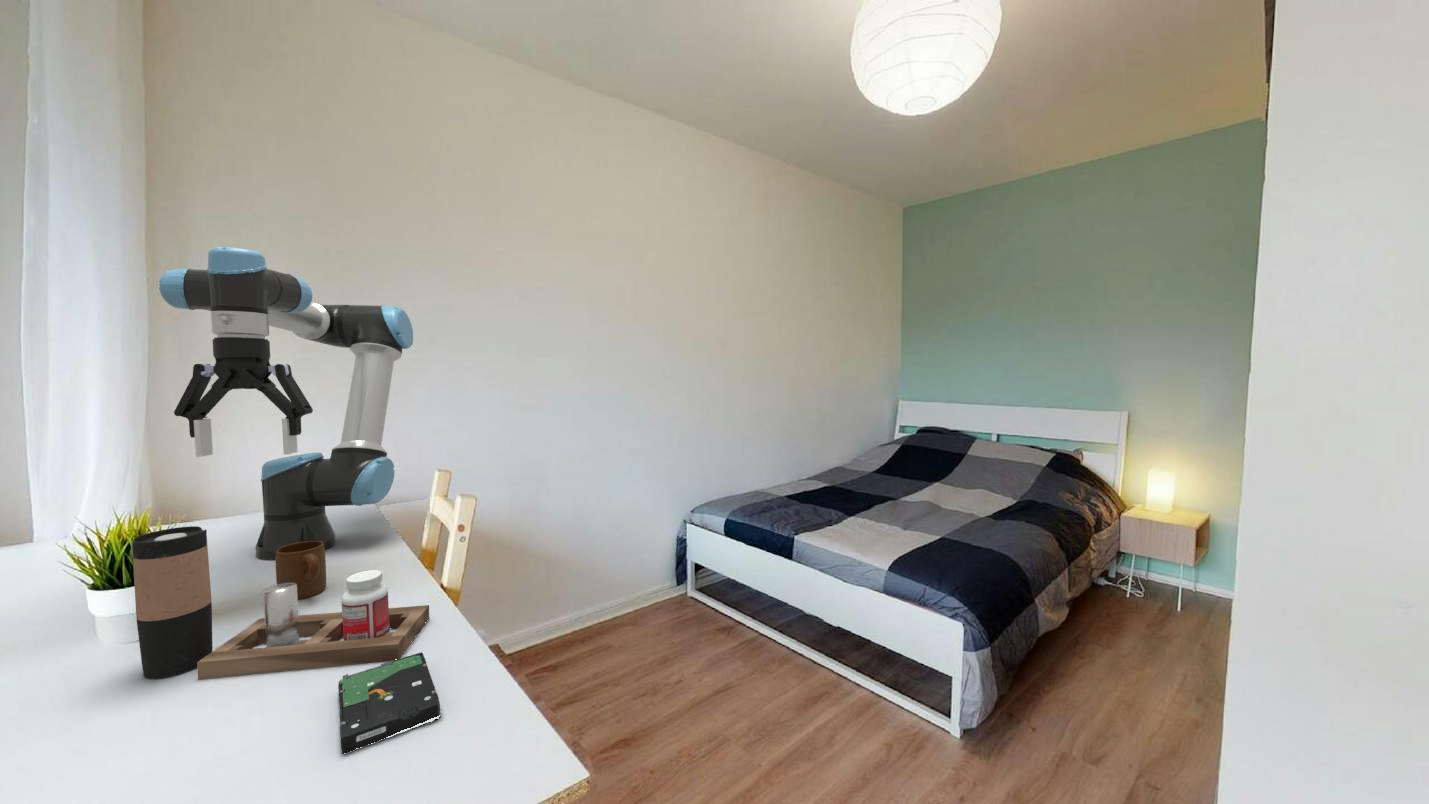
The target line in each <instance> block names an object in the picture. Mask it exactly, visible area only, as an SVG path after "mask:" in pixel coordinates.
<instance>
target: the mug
mask: <svg viewBox="0 0 1429 804" xmlns="http://www.w3.org/2000/svg"><path fill="white" fill-rule="evenodd" d="M274 560H275V563H274V564H275V579H276V585H278V584H282V583H296V584H297V598H298V600H303V599H306V598H310V597H313V596H316V595H318V594H321V592H323V591H325V588H326V586H327V565H326V561H327V560H326V549H325V548H324V543H323V542H322V541H304V542H297V543H293V544H289V545H286V546H283V547H280V548H279V549H277V550H276V559H274Z"/></svg>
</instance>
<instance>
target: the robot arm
mask: <svg viewBox="0 0 1429 804" xmlns="http://www.w3.org/2000/svg"><path fill="white" fill-rule="evenodd" d="M207 256H208V257H207V258H208V259H207V269H192V268H183V269H181V268H180V269H169V270H168V271H165V272H164V273H163V274H161V276H160V279H159V282H158V283H159V284H158V285H159V287H158V289H159V294H160V296H161V297H162V299H163V300H164V301H165V302H166V303H167V304H168V305H169V306H171V307H173V308H176V309H182V310H184V309H185V310H191V311H194V310H201V311H202V310H203V311H209V312H210V317H211V318H210V319H211V330H212V331H211V333H212V334H213V335H216V337H213V339H212V353H213V354H212V355H213V358H214V360H215V364H214V365H212V364H210V363H195V364H194V365H193V367H192V377H191V379H190V381H189V382H188V384H187V386H186V388H185V390H184V392H183V394H182V396H181V398H180V400H179V401H178V403H177V405H176V406H175V407H176V408H175V409H174V411H173V415H174V416H175V417H182V418H185V419H186V420H188V427H189V428H188V429H189V436H190V438H194V446H195V447H194V449H195V457H196V458H198V457H199V458H200V457H201V458H202V457H206V456H211V455H214V454H213V453H214V452H213V451H214V450H213V437H212V434H213V433H212V420H211V418H208V416H207V415H208V414H209V413H210V412H211V411H212V409H213V408H214V407H216V405H217V404H218V403H219V402H220V401H221V400H222V399H223V398H224V397H225V395H227V394H228V393H229V391H232V390H242V389H244V390H255V389H256V390H257V391H258V392H261V393H262V394H263V395H264V396H265V397H266V398H267V399H268V400H269V401H270V402H271V403H273V405H274V406H275V407H276V408H278V410H279V411H280V412H281V413H283V415H285V416H286V417H285V418H281V429H282V431H281V432H282V447H283V448H282V449H283V451H282V452H283V455H290V456H284V457H280V458H275V459H271V460H268V461H266V462H265V463H264V464H263V465H262V467H261V478H260V482H261V489H262V490H261V491H262V495H261V496H262V508H263V526H262V528H261V530H260V533H259V537H258V539H257V542H256V545H255V555H256V558H258V559H262V560H275V559H276V550H277V549H279V548H280V547H283V546H286V545H289V544H293V543H297V542H304V541H322V542H323V543H324V548H325V550H326V549H328V548H331V547H332V546H334V545H335V544H336V533H335V531H334V528H333V526H332V525H331V523H330V521H329V518H328V516H327V514H326V507H341V506H357V507H358V506H359V507H360V506H364V505H365V506H366V505H373V504H374V505H375V504H378V503H379V502H382V500H384V498H385V497H387V495H388V494H389V492H390V490H391V488H392V486H393V484H394V483H393V482H394V479H395V469H394V468H395V464H394V462H393V461H392V459H391V458H389V457H388V451H387V450H386V449H384V448H383V446H382V444H383V443H382V442H383V436H384V429H385V423H386V417H387V416H386V415H387V412H388V411H387V409H388V404H389V403H388V402H389V397H390V391H391V383H392V375H393V370H394V363H395V361H398V360H399V359H401V357H402V353H403V350H407V349H409V348H411V347H412V346H413V342H414V331H413V326H412V323H411V320H410V317H409V315H408V314H407V312H406V311H405V310H404V309H403V308H402V307H399V306H396V305H393V306H392V305H386V304H381V305H367V304H365V305H364V304H363V305H361V304H319V303H316V302H314V301H313V291H312V288H311V287H310V286H309V285H310V284H308V283H307V282H306V281H304V280H303V279H302V278H299V277H297V276H295V275H293V274H290V273H284V272H281V271H280V272H279V271H276V270H272V269H269V268H267V267H268V266H267V262H266V258H265V256H264V255H263V254H262V253H261V252H259V251H255V250H252V249H246V248H239V247H228V246H227V247H226V246H224V247H223V246H218V247H213V248H211V249H209V250H208V255H207ZM270 327H272V328H275V329H279V330H284V331H289V332H292V334H294V335H295V336H297V337H298V338H301V339H304V340H306V341H307V340H308V341H313V342H316V343H320V344H323V345H328V346H332V347H338V348H343V349H344V348H346V349H347V348H348V349H350V352H352V354H353V355H354V356H355V358H354V359H355V360H354V365H353V371H352V375H351V376H352V377H351V381H350V389H349V394H348V398H347V399H348V400H347V405H346V409H345V410H346V411H345V417H344V422H343V428H342V433H341V439H340V443H339V444H337V445H336V446H334V447H332V448H331V454H330V458H324V455H323V453H322V452H318V451H317V452H309V453H301V454H296V453H298V451H299V450H298V436H299V435H301V434H302V417H303V416H306V415H309V414H312V413H313V412H314V410H313V407H312V406H311V404H310V403H309V401H308V399H307V397H306V396H305V395H304V393H303V390H301V388H300V386H299V385H298V383H297V382H296V380H295V378H294V376H293V372H292V367H291V365H289V364H287V363H278V364H275V365H271V364H270V363H271V362H270V360H271V359H270V358H271V345H270V344H271V343H270V340H268V339H266V337H268V336H270ZM214 375H216V376H217V377H218V378H217V379H216V380H215V381H214V382H213V384H211V385H210V387H211V388H210V389H209V390H208V391H207V392H206V393H205V394H204V392H205V391H206V389H207V387H208V385H209V384H210V381H211V380H212V379H211V378H212V377H213V376H214ZM270 375H273V376H274V377H276V379H277V381H278V383H279V385H280V386H281V388H282V389H283V391H284V393H285V394H286V395H285V394H283V392H282V391H281V390H279V389H278V387H277V385H276V383H274V381H272V380H271V379H270ZM291 454H296V455H291Z"/></svg>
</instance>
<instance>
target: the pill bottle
mask: <svg viewBox="0 0 1429 804" xmlns="http://www.w3.org/2000/svg"><path fill="white" fill-rule="evenodd" d="M382 574H383V573H382V571H381V570H377V569H376V570H374V569H372V570H370V569H369V570H365V571H359V572H357V573H356V572H355V573H354V574H352V575H350V576H348V577H347V578H346V589H347V591H345V592H344V593H343V595H342V597H341V612H342V619H343V636H344V637H343V641H345V640H356V639H368V638H379V637H384V635H385V634H386V633H388V632H391V631H390V630H391V629H390V625H389V591H388V587H387V586H386V585H385V584H384V583H382V582H383V581H382V580H383V575H382Z"/></svg>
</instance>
